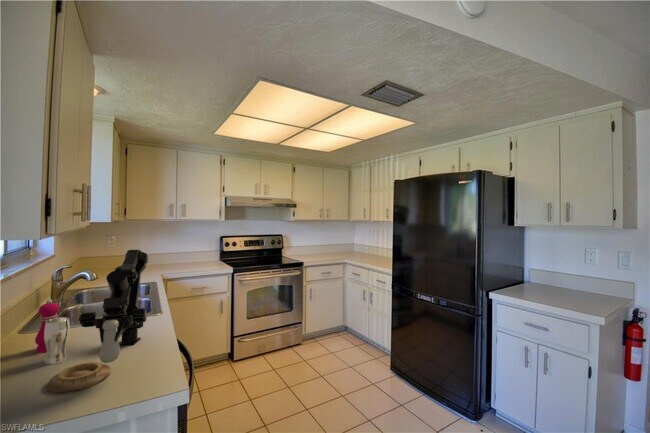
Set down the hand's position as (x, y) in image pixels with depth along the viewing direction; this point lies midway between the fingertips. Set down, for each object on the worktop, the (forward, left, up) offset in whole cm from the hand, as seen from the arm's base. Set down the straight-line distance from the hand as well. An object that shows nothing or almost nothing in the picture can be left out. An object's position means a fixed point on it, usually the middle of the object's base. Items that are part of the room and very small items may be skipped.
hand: (108, 341), depth 96 cm
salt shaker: (-1, 0, -7) cm, 7 cm away
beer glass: (-17, -27, -13) cm, 34 cm away
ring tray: (-3, -10, -13) cm, 16 cm away
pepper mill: (-27, -37, -13) cm, 47 cm away
